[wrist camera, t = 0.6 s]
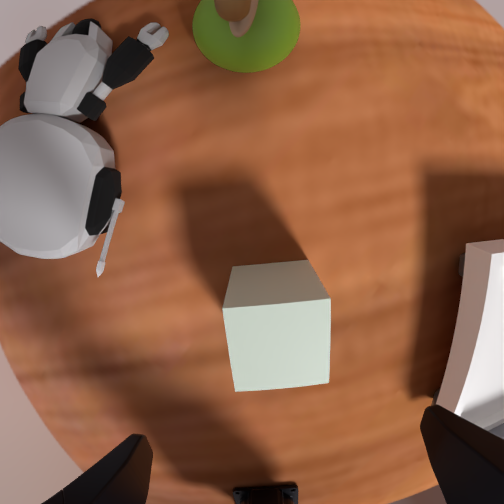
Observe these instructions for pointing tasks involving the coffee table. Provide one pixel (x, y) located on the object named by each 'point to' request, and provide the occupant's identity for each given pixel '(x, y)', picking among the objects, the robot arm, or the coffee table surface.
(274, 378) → the part block
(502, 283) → the tray
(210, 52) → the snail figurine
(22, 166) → the robot toy
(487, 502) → the robot arm
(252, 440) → the coffee table surface
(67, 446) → the coffee table surface
